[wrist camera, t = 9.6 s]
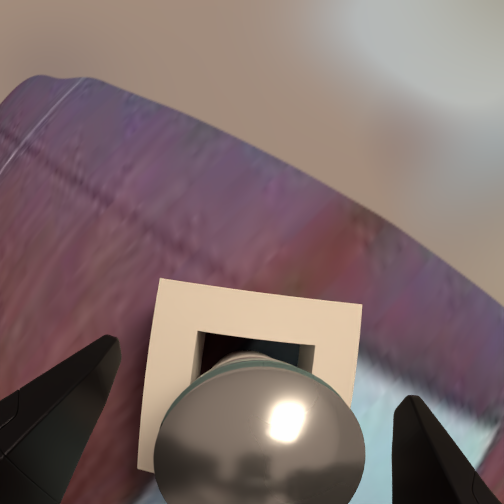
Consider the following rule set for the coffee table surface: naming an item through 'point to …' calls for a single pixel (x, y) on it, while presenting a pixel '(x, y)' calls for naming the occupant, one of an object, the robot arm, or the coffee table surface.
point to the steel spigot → (258, 438)
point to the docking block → (246, 326)
